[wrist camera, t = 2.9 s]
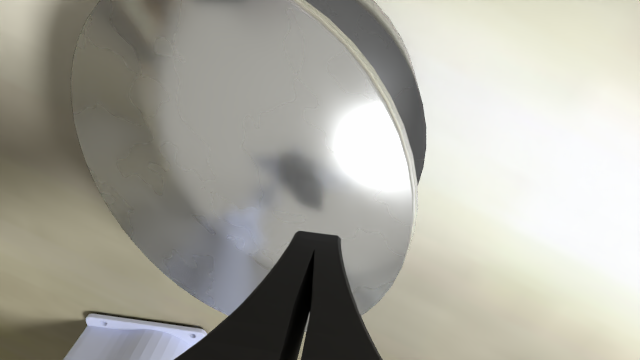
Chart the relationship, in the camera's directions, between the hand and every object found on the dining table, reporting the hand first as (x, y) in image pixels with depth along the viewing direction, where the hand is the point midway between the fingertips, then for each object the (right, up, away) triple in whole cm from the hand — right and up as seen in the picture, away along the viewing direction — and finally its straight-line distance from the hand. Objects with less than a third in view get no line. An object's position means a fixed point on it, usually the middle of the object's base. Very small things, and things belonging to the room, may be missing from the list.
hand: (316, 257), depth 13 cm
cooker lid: (-3, +4, +3) cm, 6 cm away
